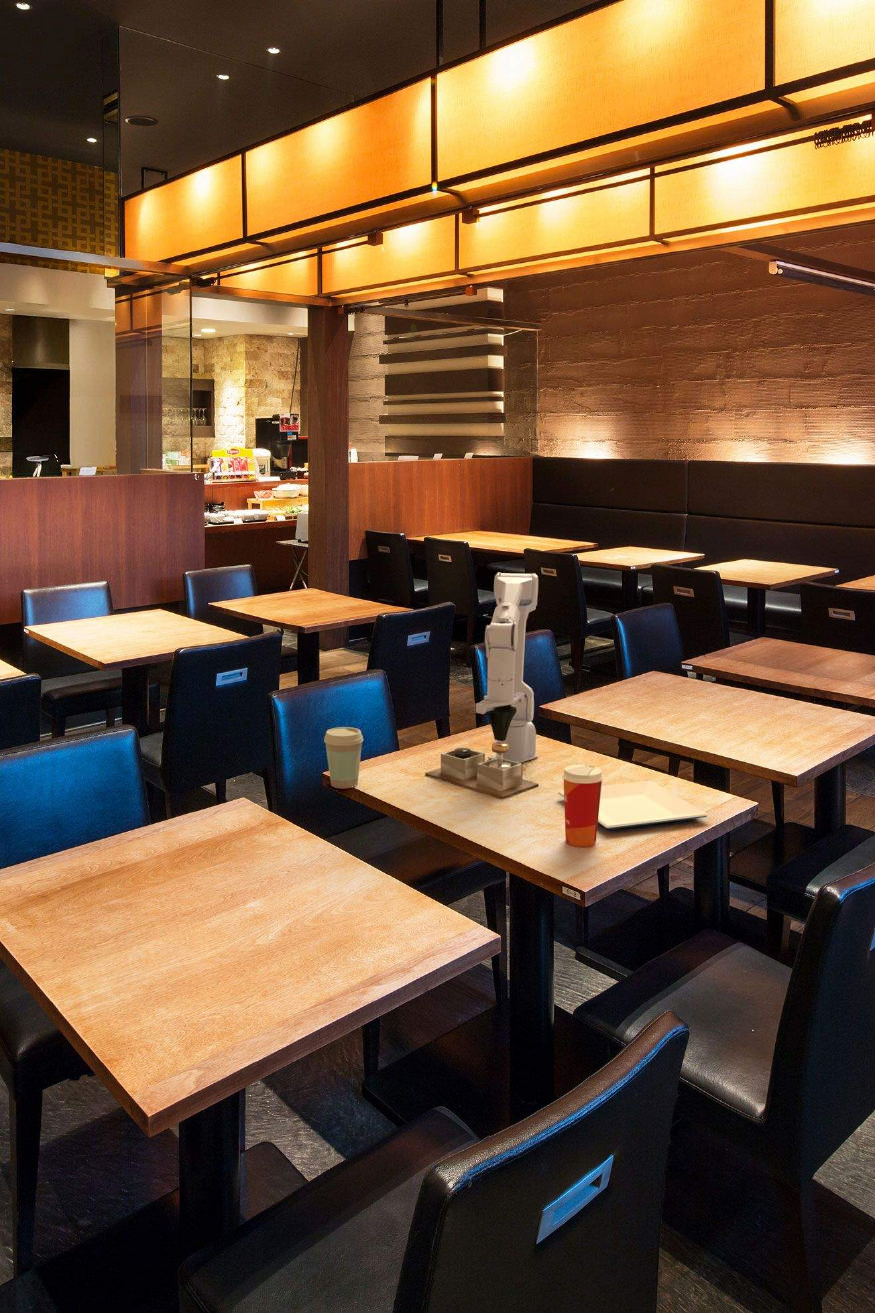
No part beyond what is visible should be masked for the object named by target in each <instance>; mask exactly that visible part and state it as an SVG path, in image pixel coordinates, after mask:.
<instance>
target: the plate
mask: <svg viewBox="0 0 875 1313" xmlns="http://www.w3.org/2000/svg"><path fill="white" fill-rule="evenodd" d="M557 793H558V794H559V795H560V796H561V797H563V798H564V789H560V790H557ZM708 816H709V814H708V813H706V812H705V811H703V810H702V809H699V808H698V807H696V806H695V805H693V804H691V803H690V802H688V801H686V800H684V799H683V798H681V797H679V796H678V795H676V794H674V793H672V792H671V791H669V790H667V789H666V788H664V787H662V786H661V785H659V784H658V783H656V782H654V781H652V780H643V781H634V782H624V783H616V784H615V783H614V784H606V785H601V795H600V806H599V817H598V824H600V825H601V826H602V827H604V828H605V829H606V830H613V829H621V828H628V827H629V828H631V827H637V826H645V825H647V826H648V825H654V824H660V823H669V822H678V821H686V820H693V819H695V820H696V819H700V818H701V819H703V818H707V817H708Z"/></svg>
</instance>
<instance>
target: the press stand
mask: <svg viewBox="0 0 875 1313" xmlns="http://www.w3.org/2000/svg"><path fill="white" fill-rule="evenodd" d="M470 750H471V757H469V758H465V759H461V758H457V757H455V749H452V750H449V751H446V752H443V753H440V768H437V769H434V770H430V771H428V772H424V776H427V777H430V778H434V779H437V780H440V781H443V782H446V783H450V784H453V785H456V786H459V787H463V788H467V789H469V790H472V791H474V792H475V791H476V792H479V793H482V794H486V795H489V796H492V797H495V798H498V799H501V800H503V799H507V798H509V797H513V796H514V795H517V794H520V793H522V792H525V791H529V790H532V789H534V788H536V787H539V783H538V782H534V781H531V780H527V779H523V776H524V774H523V772H524V771H523V770H524V769H523V768H524V767H523V765H524V763H517V762H514V761H510V760H506V759H503V762H507V763H510V764H511V767H509V768H506V769H503V770H500V769H496V768H493V767H489V764H490V763H492V762H497V758H495V759H489V760H485V759H486V753H484V752H481V751H477V750H473V749H470Z"/></svg>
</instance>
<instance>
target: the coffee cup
mask: <svg viewBox="0 0 875 1313" xmlns="http://www.w3.org/2000/svg"><path fill="white" fill-rule="evenodd" d="M363 741H364V738H363V734H362V731H361V730H360V729H359V728H357V727H356V728H355V727H351V726H350V727H349V726H348V727H347V726H341V727H339V726H338V727H334V728H330V729H327V730H326V732H325V736H324V739H323V743H325V749H326V756H327V758H326V759H327V764H328V773H329V779H330V785H331V787H333V788H335V789H342V790H343V789H351V788H353V787H352V786H355V785H357V786H358V784H359V783H358V782H359V775H360V765H361V756H362V755H361V753H362V746H363ZM355 787H356V786H355Z"/></svg>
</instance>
